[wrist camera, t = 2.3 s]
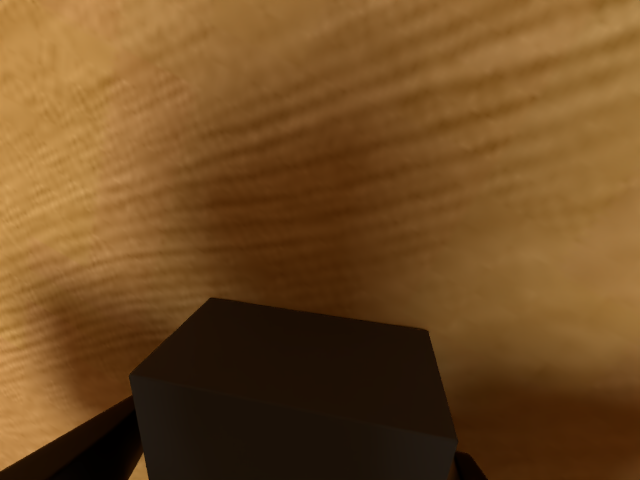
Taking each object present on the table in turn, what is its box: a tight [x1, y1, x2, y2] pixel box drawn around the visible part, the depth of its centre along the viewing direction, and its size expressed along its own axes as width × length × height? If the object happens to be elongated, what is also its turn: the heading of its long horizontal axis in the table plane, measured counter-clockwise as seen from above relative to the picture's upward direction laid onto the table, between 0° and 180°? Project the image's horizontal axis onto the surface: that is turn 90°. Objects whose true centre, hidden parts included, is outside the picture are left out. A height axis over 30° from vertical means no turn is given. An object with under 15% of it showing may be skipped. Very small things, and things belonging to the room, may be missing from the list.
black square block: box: [129, 298, 458, 480], centre depth 8 cm, size 6×6×3 cm
